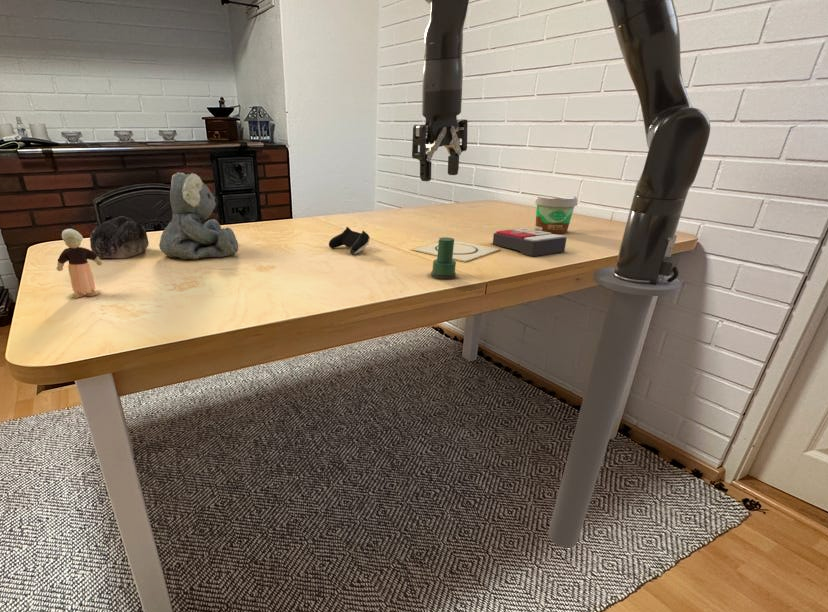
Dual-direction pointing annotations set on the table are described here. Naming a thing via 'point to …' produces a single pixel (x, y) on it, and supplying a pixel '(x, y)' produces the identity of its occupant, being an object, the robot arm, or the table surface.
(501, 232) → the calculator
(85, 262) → the grandmother figurine
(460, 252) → the paper sheet
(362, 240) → the gaming controller
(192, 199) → the koala plush
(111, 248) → the dark grey furry dome
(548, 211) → the food container
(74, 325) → the table surface
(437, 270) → the dot stamp
